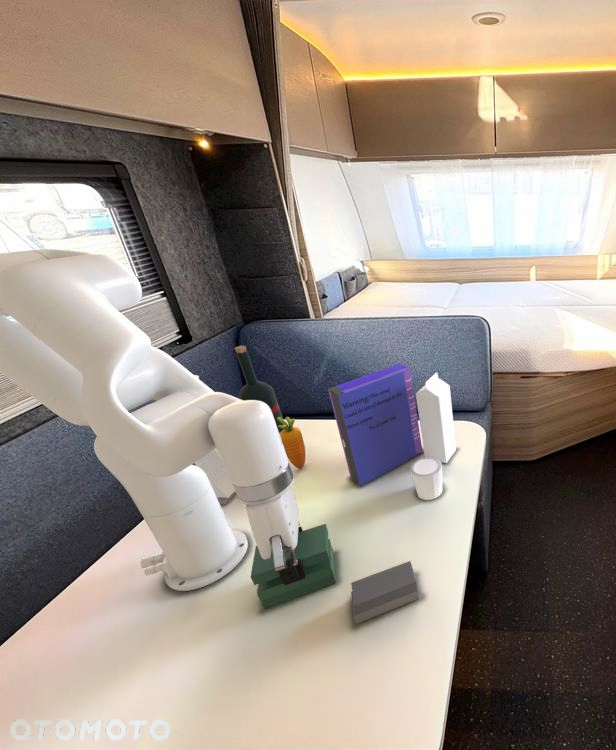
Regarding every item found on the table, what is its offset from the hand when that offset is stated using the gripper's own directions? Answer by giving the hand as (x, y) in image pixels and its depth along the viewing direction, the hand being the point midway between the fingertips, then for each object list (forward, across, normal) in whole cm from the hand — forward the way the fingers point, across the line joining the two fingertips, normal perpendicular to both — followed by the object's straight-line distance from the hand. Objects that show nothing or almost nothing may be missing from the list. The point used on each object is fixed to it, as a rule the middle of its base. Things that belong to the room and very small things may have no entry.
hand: (296, 562), depth 65 cm
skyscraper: (+4, -33, -17) cm, 38 cm away
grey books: (+5, +10, +13) cm, 17 cm away
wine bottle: (+4, -45, -8) cm, 46 cm away
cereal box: (+5, -26, +19) cm, 33 cm away
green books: (+4, 0, 0) cm, 4 cm away
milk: (+5, -24, +32) cm, 40 cm away
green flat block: (-1, 0, 0) cm, 1 cm away
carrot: (+4, -34, -1) cm, 35 cm away
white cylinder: (+5, -12, +26) cm, 29 cm away
